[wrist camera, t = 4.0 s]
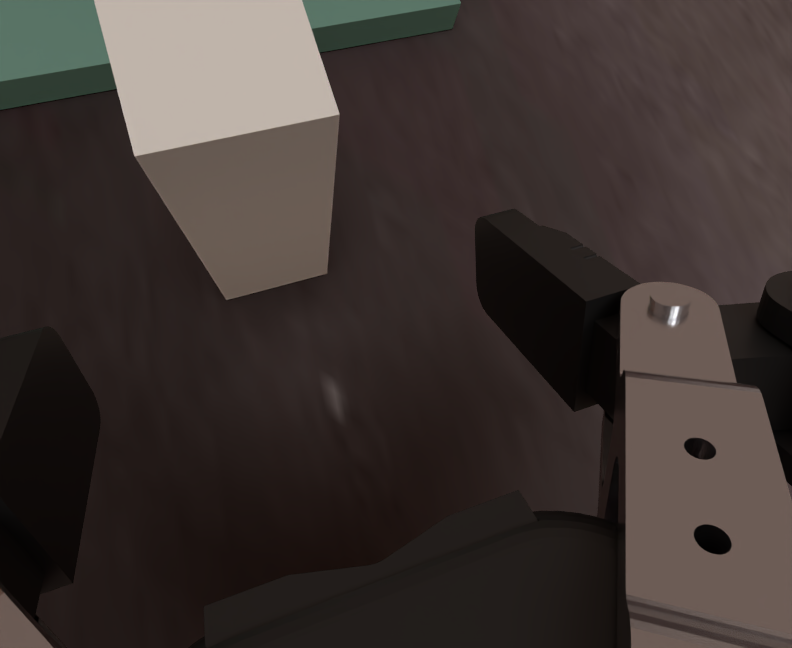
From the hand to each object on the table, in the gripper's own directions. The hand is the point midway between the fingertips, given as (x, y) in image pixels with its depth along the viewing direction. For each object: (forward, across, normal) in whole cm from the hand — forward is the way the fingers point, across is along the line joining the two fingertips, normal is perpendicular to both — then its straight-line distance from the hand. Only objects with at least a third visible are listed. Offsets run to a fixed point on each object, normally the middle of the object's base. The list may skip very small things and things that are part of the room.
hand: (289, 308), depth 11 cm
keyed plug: (+11, 0, +4) cm, 12 cm away
